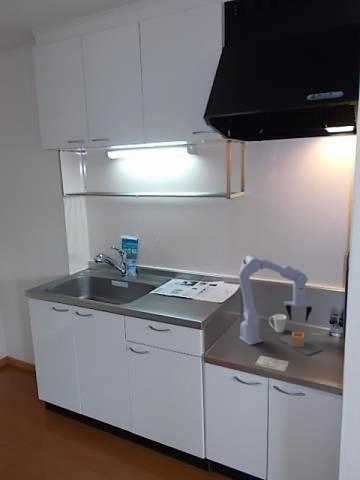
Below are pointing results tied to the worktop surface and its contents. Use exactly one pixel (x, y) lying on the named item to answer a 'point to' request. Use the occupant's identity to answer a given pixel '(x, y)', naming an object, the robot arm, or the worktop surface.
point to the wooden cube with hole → (298, 339)
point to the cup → (279, 322)
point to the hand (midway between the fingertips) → (298, 320)
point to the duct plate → (306, 350)
